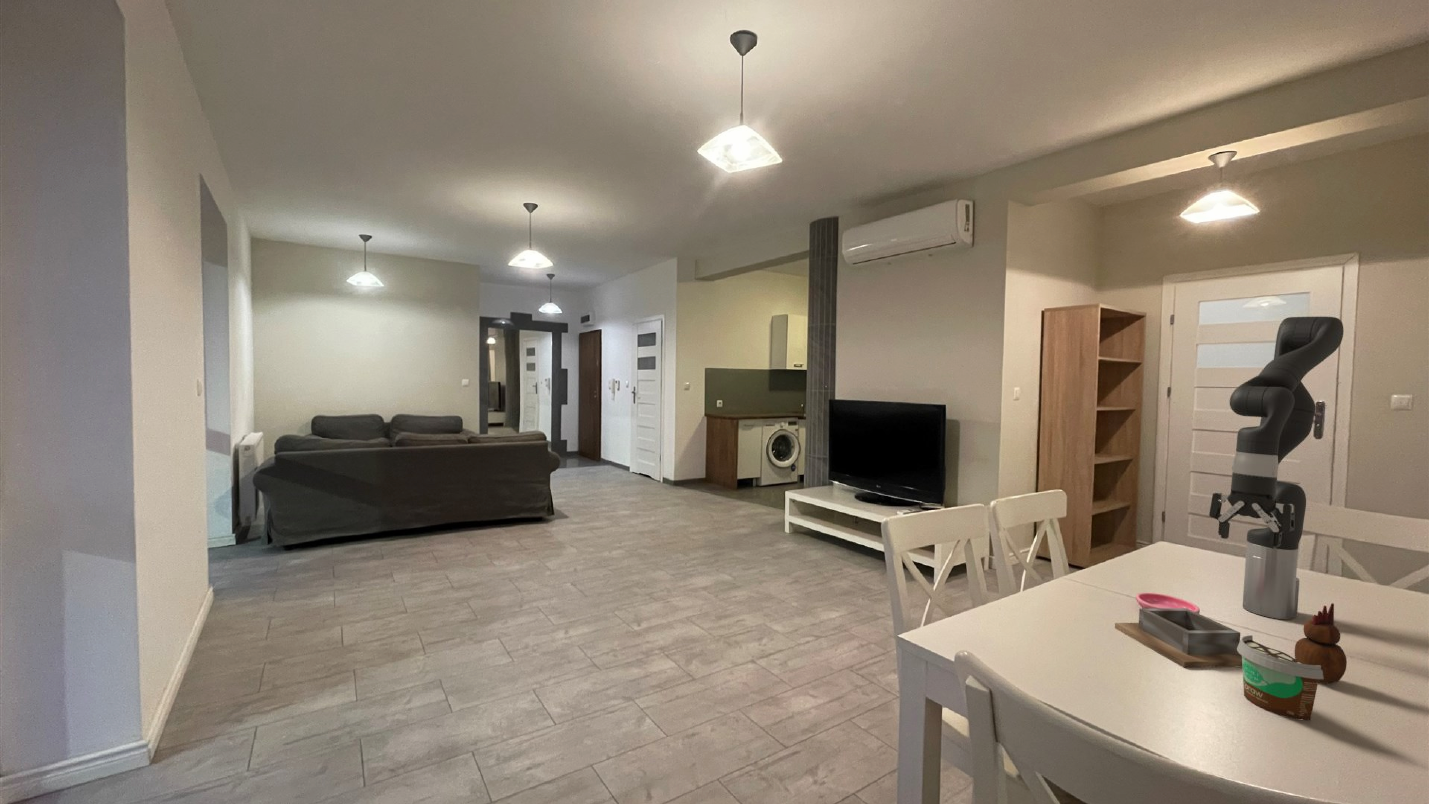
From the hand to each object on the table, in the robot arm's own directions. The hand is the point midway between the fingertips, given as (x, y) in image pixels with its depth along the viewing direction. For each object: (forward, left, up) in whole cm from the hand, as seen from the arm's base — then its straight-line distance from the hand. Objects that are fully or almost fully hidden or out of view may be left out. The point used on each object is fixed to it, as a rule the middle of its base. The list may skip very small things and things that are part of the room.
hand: (1247, 543), depth 131 cm
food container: (+27, +29, -21) cm, 45 cm away
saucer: (+10, -10, -21) cm, 25 cm away
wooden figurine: (+7, +21, -21) cm, 30 cm away
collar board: (+21, +7, -21) cm, 30 cm away
